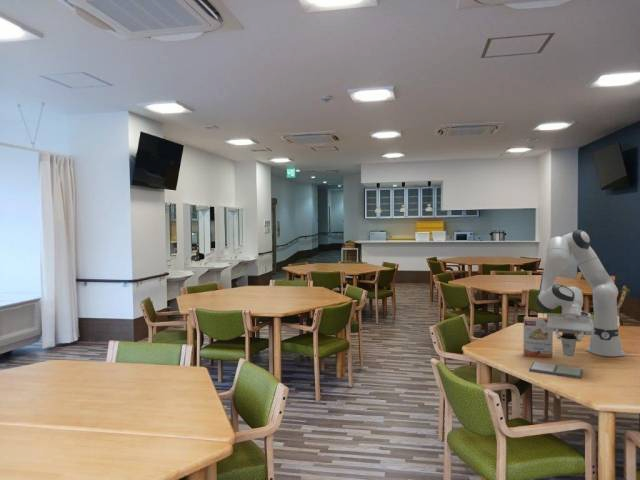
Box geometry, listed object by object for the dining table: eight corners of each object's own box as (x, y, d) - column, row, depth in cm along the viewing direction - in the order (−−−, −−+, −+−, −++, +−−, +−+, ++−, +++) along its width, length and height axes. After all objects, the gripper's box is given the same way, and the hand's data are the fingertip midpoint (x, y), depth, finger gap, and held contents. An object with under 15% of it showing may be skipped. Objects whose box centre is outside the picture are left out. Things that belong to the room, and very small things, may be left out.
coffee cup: (571, 352, 221) (571, 332, 221) (580, 356, 214) (580, 335, 214) (557, 353, 220) (557, 332, 220) (566, 357, 214) (566, 336, 213)
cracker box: (524, 356, 246) (524, 318, 246) (523, 353, 252) (523, 316, 251) (553, 358, 241) (552, 319, 241) (551, 355, 247) (551, 317, 247)
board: (533, 363, 232) (533, 361, 232) (582, 370, 220) (582, 368, 220) (529, 371, 221) (529, 368, 220) (581, 378, 209) (581, 376, 209)
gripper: (547, 310, 228) (543, 333, 221) (594, 314, 216) (592, 338, 209) (549, 317, 232) (545, 340, 224) (595, 321, 220) (593, 346, 212)
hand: (568, 339), depth 217 cm, fingers closed on coffee cup, 7 cm apart
